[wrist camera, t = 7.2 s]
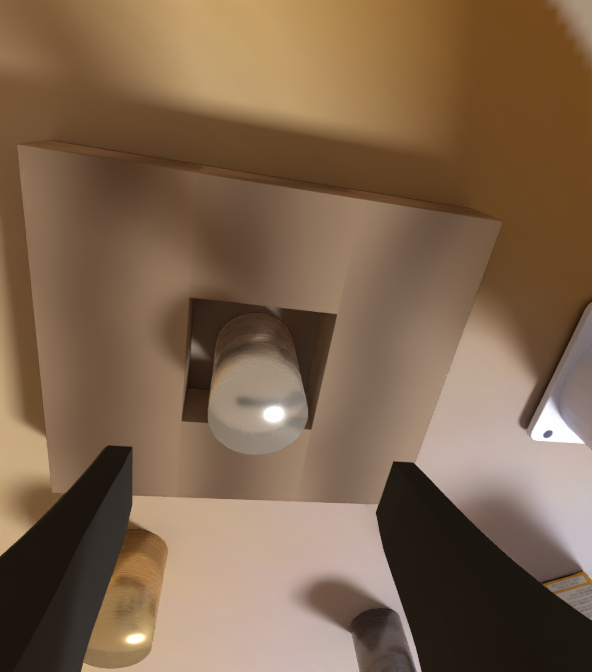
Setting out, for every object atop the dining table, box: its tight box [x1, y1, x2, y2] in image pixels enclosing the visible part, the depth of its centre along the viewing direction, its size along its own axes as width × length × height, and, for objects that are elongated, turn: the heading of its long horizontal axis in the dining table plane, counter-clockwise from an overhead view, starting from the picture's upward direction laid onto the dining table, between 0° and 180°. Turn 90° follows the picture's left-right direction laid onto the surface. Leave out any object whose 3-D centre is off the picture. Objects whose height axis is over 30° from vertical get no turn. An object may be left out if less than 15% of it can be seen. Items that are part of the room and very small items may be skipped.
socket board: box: [17, 140, 503, 504], centre depth 18 cm, size 16×14×2 cm
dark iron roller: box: [351, 608, 417, 672], centre depth 28 cm, size 4×4×5 cm
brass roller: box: [83, 530, 168, 668], centre depth 22 cm, size 4×4×5 cm
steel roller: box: [208, 313, 308, 455], centre depth 18 cm, size 4×4×5 cm
